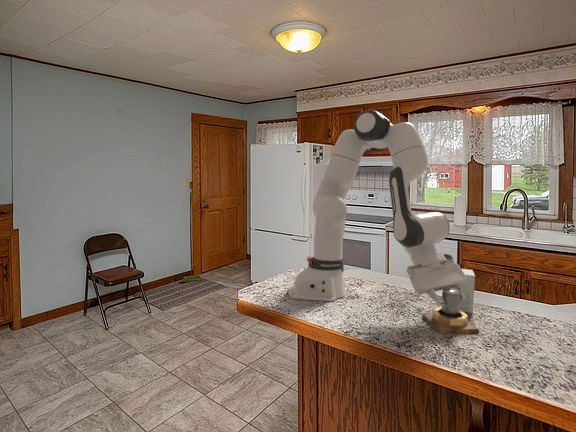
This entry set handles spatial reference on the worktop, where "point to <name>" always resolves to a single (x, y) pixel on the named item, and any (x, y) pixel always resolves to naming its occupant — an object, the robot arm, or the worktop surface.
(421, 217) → the robot arm
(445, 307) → the grey metal cylinder
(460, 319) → the ring
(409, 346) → the worktop surface
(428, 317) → the board
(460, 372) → the worktop surface
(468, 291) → the small box
